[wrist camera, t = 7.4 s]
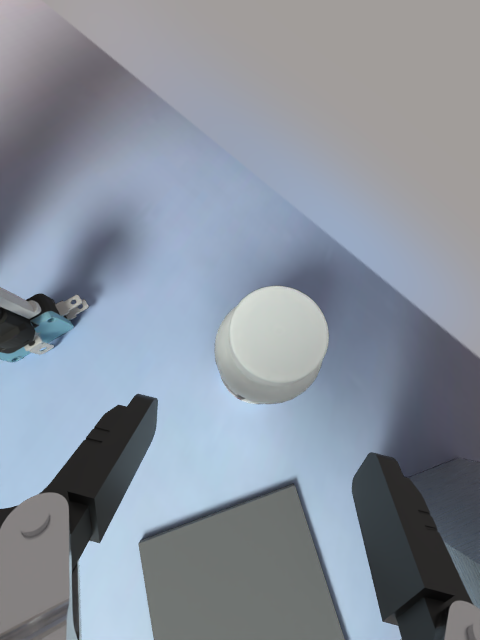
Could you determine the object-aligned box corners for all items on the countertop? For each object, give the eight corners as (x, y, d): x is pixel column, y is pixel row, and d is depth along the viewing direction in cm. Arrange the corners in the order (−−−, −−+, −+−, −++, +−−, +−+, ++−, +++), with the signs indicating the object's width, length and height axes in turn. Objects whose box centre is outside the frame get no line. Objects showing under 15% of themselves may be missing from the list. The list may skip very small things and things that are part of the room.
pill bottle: (295, 337, 20) (351, 282, 11) (287, 410, 19) (345, 417, 9) (226, 325, 20) (224, 259, 11) (212, 396, 19) (196, 389, 9)
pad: (178, 768, 13) (176, 779, 13) (140, 540, 16) (138, 543, 16) (357, 681, 15) (360, 688, 14) (293, 483, 17) (294, 485, 17)
